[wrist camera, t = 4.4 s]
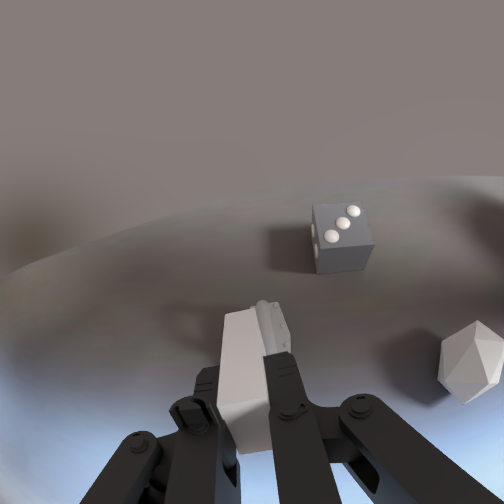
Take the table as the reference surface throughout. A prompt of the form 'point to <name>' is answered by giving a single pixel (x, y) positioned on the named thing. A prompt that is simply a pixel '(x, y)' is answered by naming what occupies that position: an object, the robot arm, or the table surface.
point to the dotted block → (340, 237)
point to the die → (471, 362)
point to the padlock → (272, 327)
